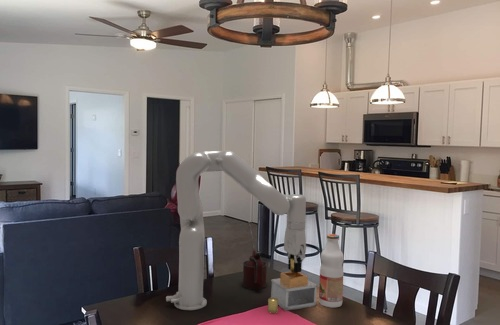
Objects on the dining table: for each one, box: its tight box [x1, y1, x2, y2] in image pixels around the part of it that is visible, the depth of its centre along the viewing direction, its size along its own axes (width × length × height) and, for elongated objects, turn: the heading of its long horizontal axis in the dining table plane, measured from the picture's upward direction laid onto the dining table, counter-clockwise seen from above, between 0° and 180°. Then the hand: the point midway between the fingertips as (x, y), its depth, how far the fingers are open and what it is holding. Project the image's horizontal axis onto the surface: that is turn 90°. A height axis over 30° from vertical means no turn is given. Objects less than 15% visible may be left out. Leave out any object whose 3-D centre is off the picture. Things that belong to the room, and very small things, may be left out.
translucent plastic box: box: [270, 271, 318, 312], centre depth 161 cm, size 14×12×12 cm
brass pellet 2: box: [289, 258, 295, 272], centre depth 161 cm, size 4×4×5 cm
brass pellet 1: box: [267, 296, 279, 314], centre depth 152 cm, size 4×4×5 cm
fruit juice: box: [318, 233, 345, 309], centre depth 162 cm, size 9×9×28 cm
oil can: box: [242, 223, 268, 290], centre depth 184 cm, size 28×11×25 cm, turn 11°
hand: (294, 270), depth 161 cm, fingers closed on brass pellet 2, 3 cm apart
